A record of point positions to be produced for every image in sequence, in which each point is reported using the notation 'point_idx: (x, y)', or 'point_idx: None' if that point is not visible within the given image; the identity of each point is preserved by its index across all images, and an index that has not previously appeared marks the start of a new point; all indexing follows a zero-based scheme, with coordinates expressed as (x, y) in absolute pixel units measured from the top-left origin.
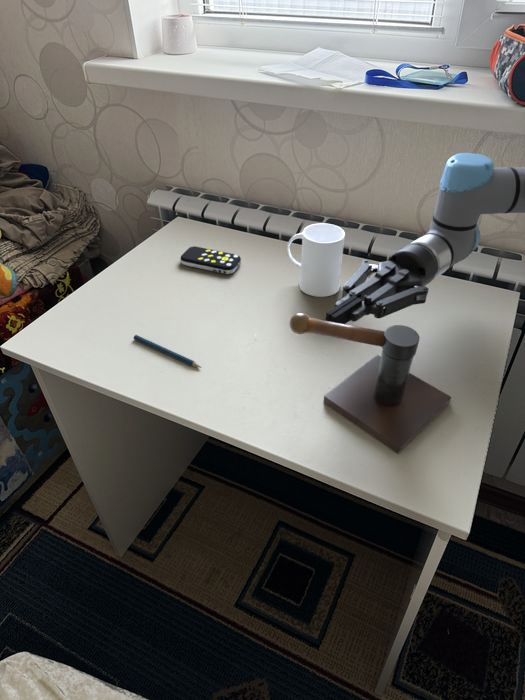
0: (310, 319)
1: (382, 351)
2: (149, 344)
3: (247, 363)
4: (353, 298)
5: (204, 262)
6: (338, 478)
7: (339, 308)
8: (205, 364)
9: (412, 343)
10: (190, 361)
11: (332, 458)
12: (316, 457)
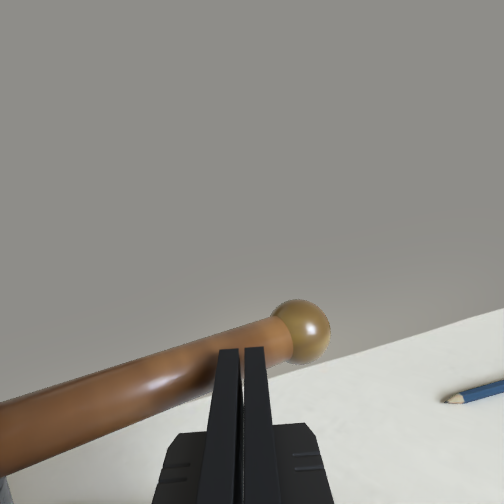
0: (273, 319)
1: (7, 482)
2: None
3: (439, 479)
4: (251, 484)
5: None
6: None
7: (245, 383)
8: (458, 415)
9: None
10: (463, 391)
11: (122, 444)
12: (148, 429)
